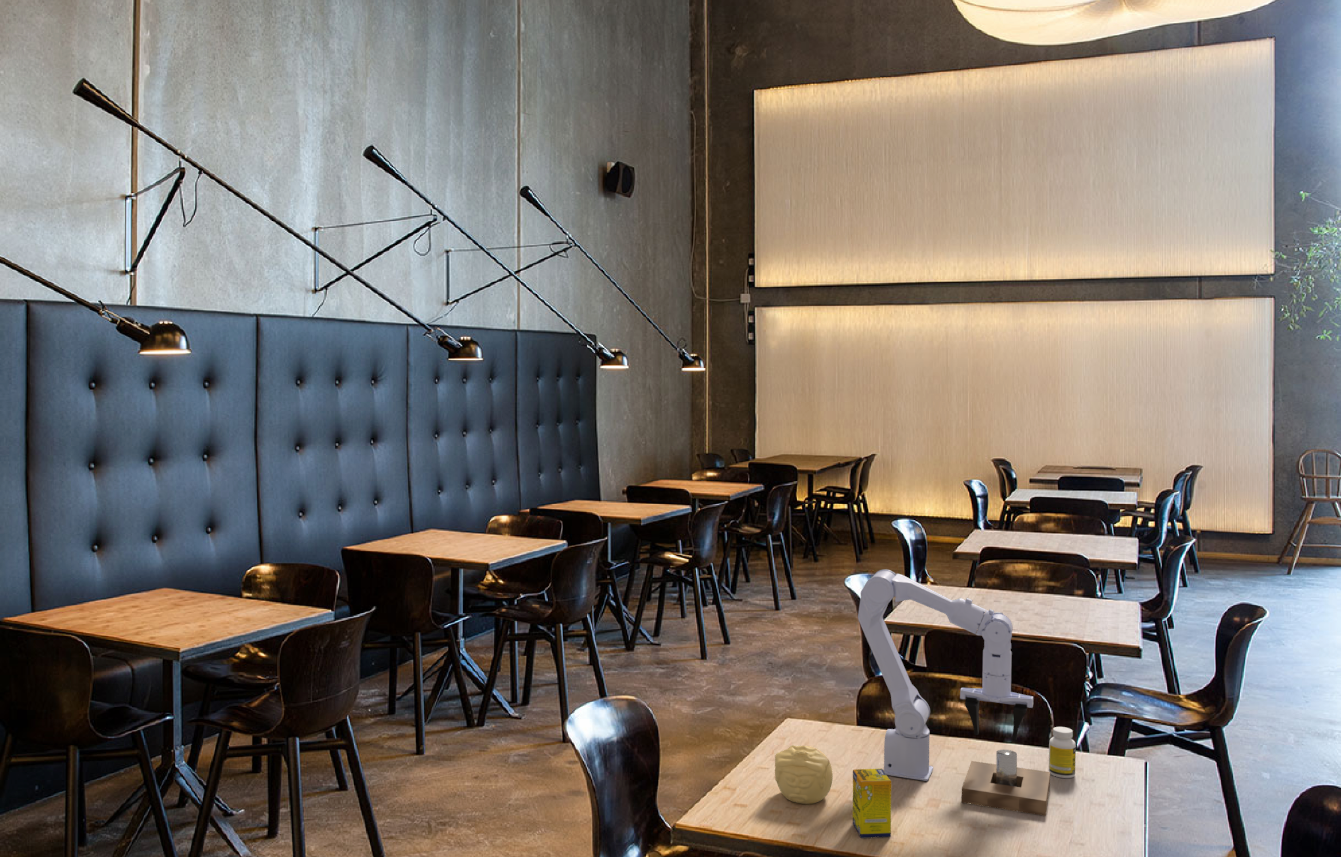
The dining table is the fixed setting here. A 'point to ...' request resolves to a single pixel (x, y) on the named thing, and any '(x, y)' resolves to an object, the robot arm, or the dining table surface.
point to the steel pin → (1006, 768)
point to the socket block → (1007, 789)
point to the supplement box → (871, 803)
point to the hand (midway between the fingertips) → (995, 736)
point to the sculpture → (803, 774)
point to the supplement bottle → (1062, 753)
